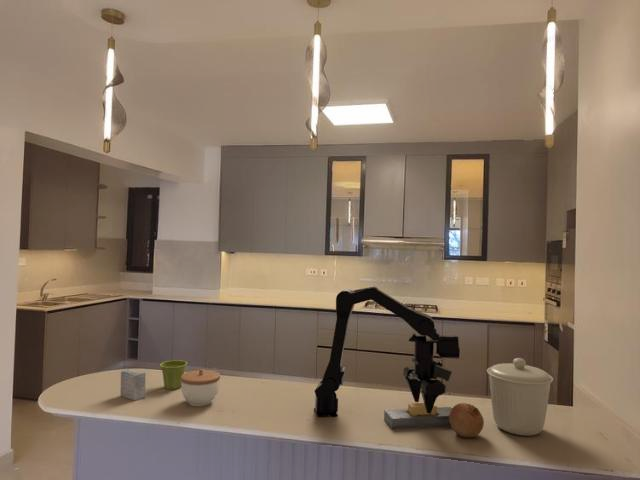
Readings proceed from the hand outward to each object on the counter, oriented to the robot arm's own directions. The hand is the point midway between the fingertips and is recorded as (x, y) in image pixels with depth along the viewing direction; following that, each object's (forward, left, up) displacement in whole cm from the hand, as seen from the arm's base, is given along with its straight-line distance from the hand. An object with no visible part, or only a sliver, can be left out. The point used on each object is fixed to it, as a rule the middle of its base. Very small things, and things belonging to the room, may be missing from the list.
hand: (422, 407), depth 136 cm
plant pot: (-79, +42, -5) cm, 90 cm away
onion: (+9, -10, -5) cm, 14 cm away
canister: (+27, -8, -5) cm, 28 cm away
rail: (0, 0, -5) cm, 5 cm away
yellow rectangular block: (0, 0, -4) cm, 4 cm away
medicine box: (-91, +33, -5) cm, 97 cm away
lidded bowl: (-68, +25, -5) cm, 73 cm away
